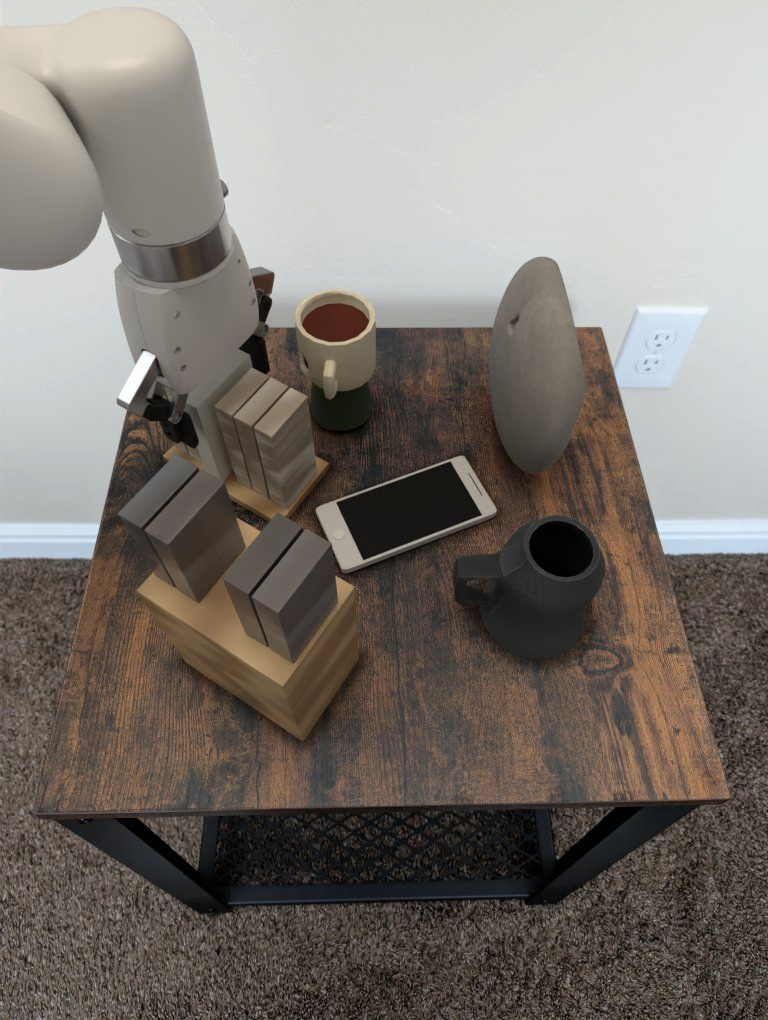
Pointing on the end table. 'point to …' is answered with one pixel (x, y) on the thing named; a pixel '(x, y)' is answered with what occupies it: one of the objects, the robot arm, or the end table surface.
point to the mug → (535, 586)
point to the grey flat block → (206, 417)
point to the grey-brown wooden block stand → (264, 445)
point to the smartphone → (404, 513)
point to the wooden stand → (244, 596)
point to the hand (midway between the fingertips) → (220, 402)
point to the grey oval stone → (535, 367)
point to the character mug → (337, 356)
